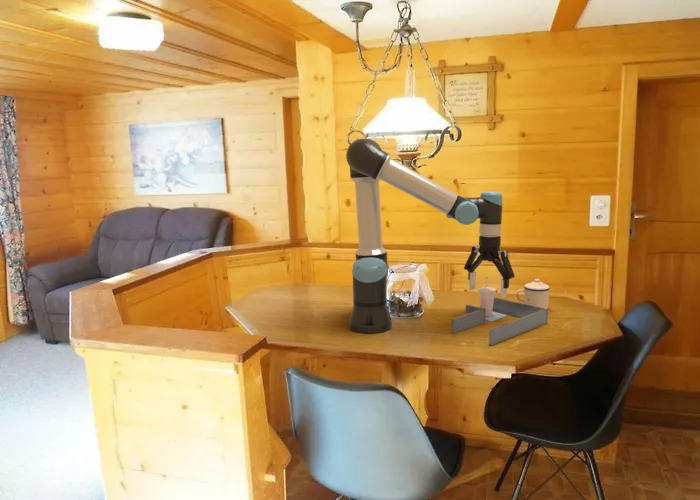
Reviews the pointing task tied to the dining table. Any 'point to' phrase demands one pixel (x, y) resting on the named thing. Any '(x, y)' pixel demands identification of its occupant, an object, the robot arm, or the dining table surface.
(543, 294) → the teacup with lid
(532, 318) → the channel
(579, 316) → the dining table surface
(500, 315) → the pad
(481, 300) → the smoothie
